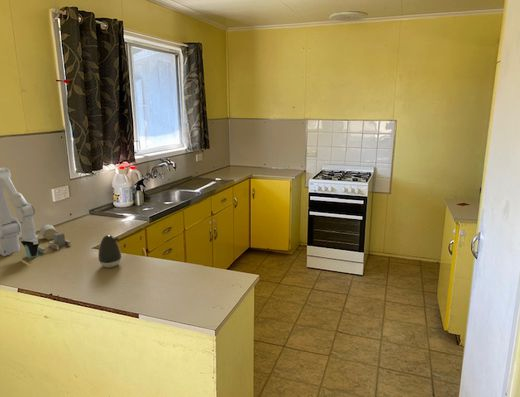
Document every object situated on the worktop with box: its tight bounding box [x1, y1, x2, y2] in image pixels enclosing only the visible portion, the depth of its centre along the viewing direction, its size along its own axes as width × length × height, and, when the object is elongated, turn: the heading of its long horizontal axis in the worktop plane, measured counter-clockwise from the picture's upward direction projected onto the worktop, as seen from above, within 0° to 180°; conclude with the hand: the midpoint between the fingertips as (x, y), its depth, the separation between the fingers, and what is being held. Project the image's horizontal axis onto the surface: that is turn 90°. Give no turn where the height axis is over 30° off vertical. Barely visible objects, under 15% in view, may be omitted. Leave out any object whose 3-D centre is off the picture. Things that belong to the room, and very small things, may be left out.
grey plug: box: [53, 231, 66, 248], centre depth 207 cm, size 4×4×7 cm
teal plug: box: [24, 245, 39, 259], centre depth 194 cm, size 4×4×7 cm
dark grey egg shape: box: [98, 234, 122, 268], centre depth 184 cm, size 10×10×15 cm
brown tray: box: [37, 238, 72, 255], centre depth 206 cm, size 14×9×3 cm, turn 142°
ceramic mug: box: [39, 224, 60, 241], centre depth 222 cm, size 11×8×8 cm
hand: (32, 254), depth 195 cm, fingers closed on teal plug, 4 cm apart
